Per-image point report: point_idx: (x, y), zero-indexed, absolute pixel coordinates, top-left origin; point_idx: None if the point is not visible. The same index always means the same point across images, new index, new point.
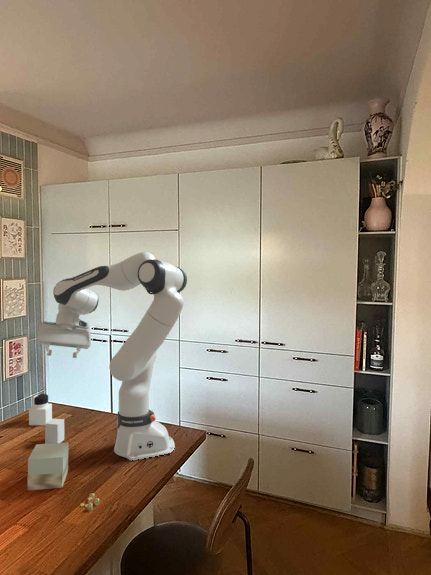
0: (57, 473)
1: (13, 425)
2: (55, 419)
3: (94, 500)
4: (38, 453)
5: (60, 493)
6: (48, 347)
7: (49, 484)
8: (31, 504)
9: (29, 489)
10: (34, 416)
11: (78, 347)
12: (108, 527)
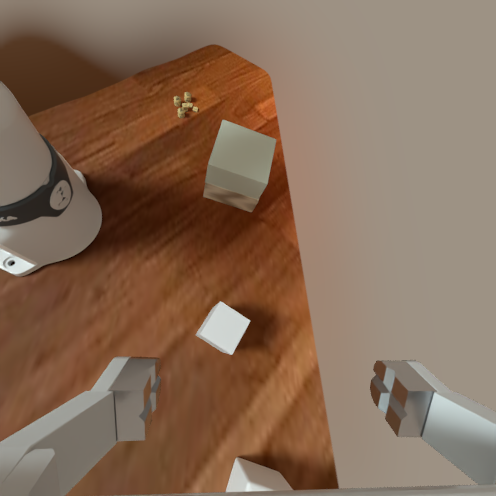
0: None
1: (318, 486)
2: (223, 342)
3: (180, 98)
4: (261, 149)
5: None
6: (478, 413)
7: None
8: None
9: None
10: (275, 480)
11: (20, 469)
12: (174, 65)
